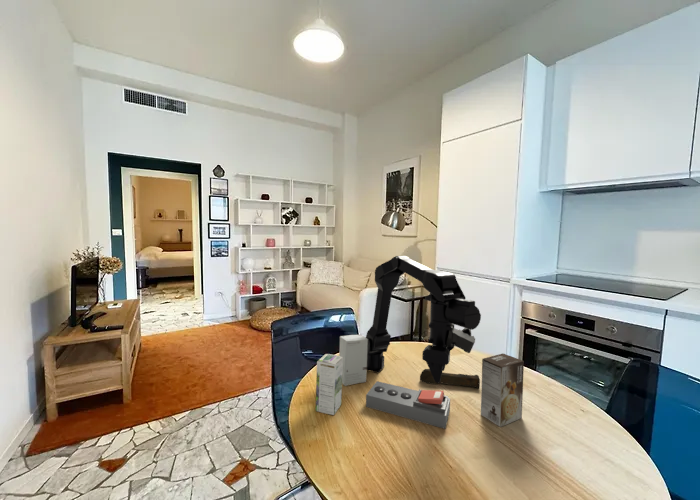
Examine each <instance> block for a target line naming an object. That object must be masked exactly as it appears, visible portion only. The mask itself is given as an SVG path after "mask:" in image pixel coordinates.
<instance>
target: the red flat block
mask: <svg viewBox="0 0 700 500" xmlns="http://www.w3.org/2000/svg"><path fill="white" fill-rule="evenodd" d="M421 390H422V391H421V393H420V396H419V398H418V400H419V402H422V403H429V404H442V401H443V397H444V395H445V392H444V390H436V389H435V390H433V389H431V390H429V389H421Z"/></svg>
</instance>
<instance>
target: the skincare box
mask: <svg viewBox="0 0 700 500" xmlns="http://www.w3.org/2000/svg"><path fill="white" fill-rule="evenodd" d="M367 345H368V339H367V338H366V336H364V335H362V334H349V335H340V336H339V353H338V356H340V357H343V372H342V386H345V387H347V386H350V385H355V384H360V383H366V382H367V373H368V372H367V371H368V370H367Z"/></svg>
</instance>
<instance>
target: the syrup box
mask: <svg viewBox="0 0 700 500" xmlns="http://www.w3.org/2000/svg"><path fill="white" fill-rule="evenodd" d="M342 372H343V357H340V356H339V355H336V354H332V353H331V354H330V353H325V354H324V355H323V356H322V357H321V358H319V359H318V360H317V361H316V383H315V385H316V386H315V387H316V388H315V411H316V412H319V413H322V414H327V415H332V416H335V414H336V413H337V412H338V410H339V409H340V407H341V406H342V402H343V401H342V398H343V397H342V395H343V383H342Z"/></svg>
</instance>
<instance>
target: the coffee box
mask: <svg viewBox="0 0 700 500" xmlns="http://www.w3.org/2000/svg"><path fill="white" fill-rule="evenodd" d="M481 359H482V360H481V362H482V363H481V366H482V367H481V392H480V393H481V394H480V395H481V396H480V397H481V398H480V415H481V416H482V417H483V418H486V419H487V420H489V421H490V422H492V423H493V424H495V425H496V426H498V427H500V428H501V427H504V426H506V425H509V424H511V423H513V422H516V421H518V420H520V419H523V393H524V369H525V368H524V364H525V361H524V360H522V359H519V358H517V357H513V356H511V355H508V354H507V353H506V354H505V353H500V354H496V355H491V356H487V357H484V358H481Z"/></svg>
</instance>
